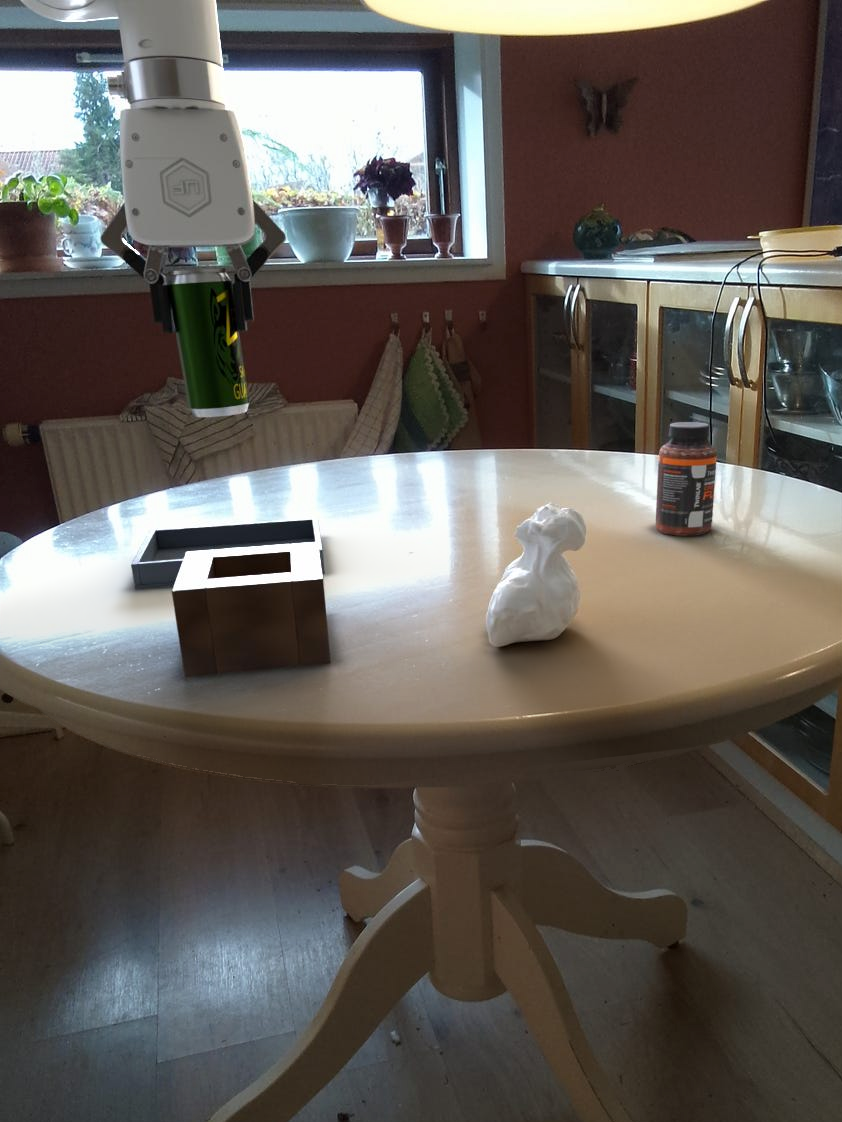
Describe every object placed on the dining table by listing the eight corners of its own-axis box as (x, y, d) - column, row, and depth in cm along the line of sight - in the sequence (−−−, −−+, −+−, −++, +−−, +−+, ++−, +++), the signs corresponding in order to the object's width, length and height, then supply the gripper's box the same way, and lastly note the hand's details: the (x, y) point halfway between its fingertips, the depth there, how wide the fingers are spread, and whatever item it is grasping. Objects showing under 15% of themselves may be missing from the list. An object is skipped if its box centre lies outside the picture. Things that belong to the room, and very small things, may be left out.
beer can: (184, 419, 80) (159, 271, 76) (195, 411, 85) (171, 272, 81) (247, 414, 81) (225, 267, 77) (253, 407, 86) (233, 268, 82)
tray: (135, 590, 84) (130, 564, 83) (153, 552, 96) (150, 529, 96) (324, 575, 87) (322, 549, 86) (319, 540, 99) (317, 517, 99)
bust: (512, 690, 67) (608, 581, 61) (433, 621, 67) (522, 507, 62) (560, 634, 77) (646, 536, 72) (491, 575, 78) (572, 473, 72)
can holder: (184, 678, 65) (171, 591, 63) (197, 629, 74) (185, 551, 72) (331, 664, 67) (323, 578, 64) (325, 618, 76) (318, 541, 74)
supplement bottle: (712, 539, 96) (719, 428, 92) (653, 537, 97) (658, 428, 93) (711, 525, 101) (718, 420, 97) (656, 523, 102) (660, 419, 98)
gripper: (53, 83, 69) (94, 336, 76) (286, 86, 72) (306, 330, 79) (75, 102, 76) (111, 333, 83) (286, 104, 79) (305, 327, 85)
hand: (206, 329), depth 81 cm, fingers closed on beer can, 5 cm apart
